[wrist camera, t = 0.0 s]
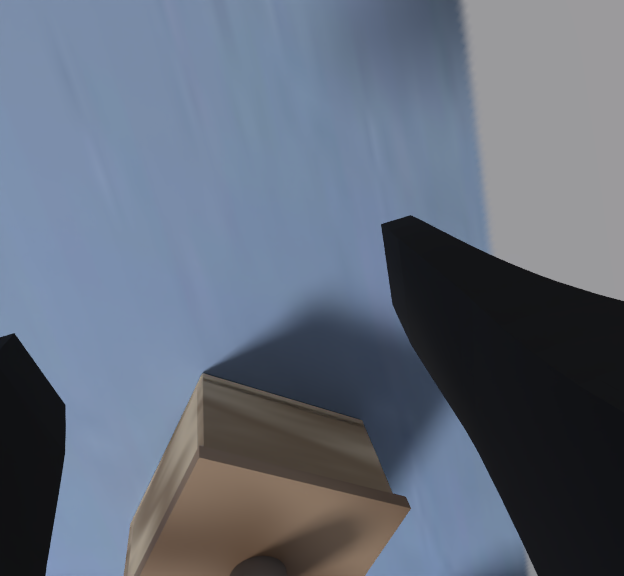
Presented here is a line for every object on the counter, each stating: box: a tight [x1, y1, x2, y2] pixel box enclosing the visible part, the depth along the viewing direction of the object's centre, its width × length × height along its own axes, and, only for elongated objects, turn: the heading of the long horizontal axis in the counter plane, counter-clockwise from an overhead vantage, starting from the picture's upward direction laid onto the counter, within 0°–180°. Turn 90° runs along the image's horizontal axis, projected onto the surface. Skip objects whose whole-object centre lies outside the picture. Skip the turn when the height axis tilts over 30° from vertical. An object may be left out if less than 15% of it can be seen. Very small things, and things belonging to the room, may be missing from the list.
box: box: [124, 373, 392, 576], centre depth 24 cm, size 9×8×5 cm
